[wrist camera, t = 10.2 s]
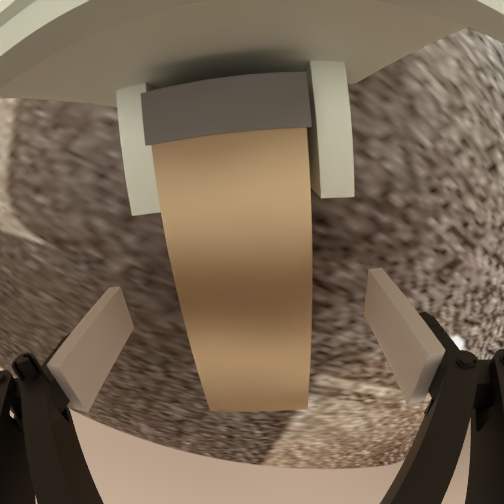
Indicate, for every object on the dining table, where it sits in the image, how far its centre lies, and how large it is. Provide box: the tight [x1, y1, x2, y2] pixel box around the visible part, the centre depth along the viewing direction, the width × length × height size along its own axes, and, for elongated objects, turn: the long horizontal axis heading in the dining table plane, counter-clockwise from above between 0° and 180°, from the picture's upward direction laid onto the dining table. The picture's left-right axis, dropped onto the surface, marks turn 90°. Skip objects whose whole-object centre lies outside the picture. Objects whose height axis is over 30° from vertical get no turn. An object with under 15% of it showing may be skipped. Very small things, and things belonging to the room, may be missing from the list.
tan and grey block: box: [141, 72, 312, 412], centre depth 15 cm, size 16×6×7 cm, turn 5°
